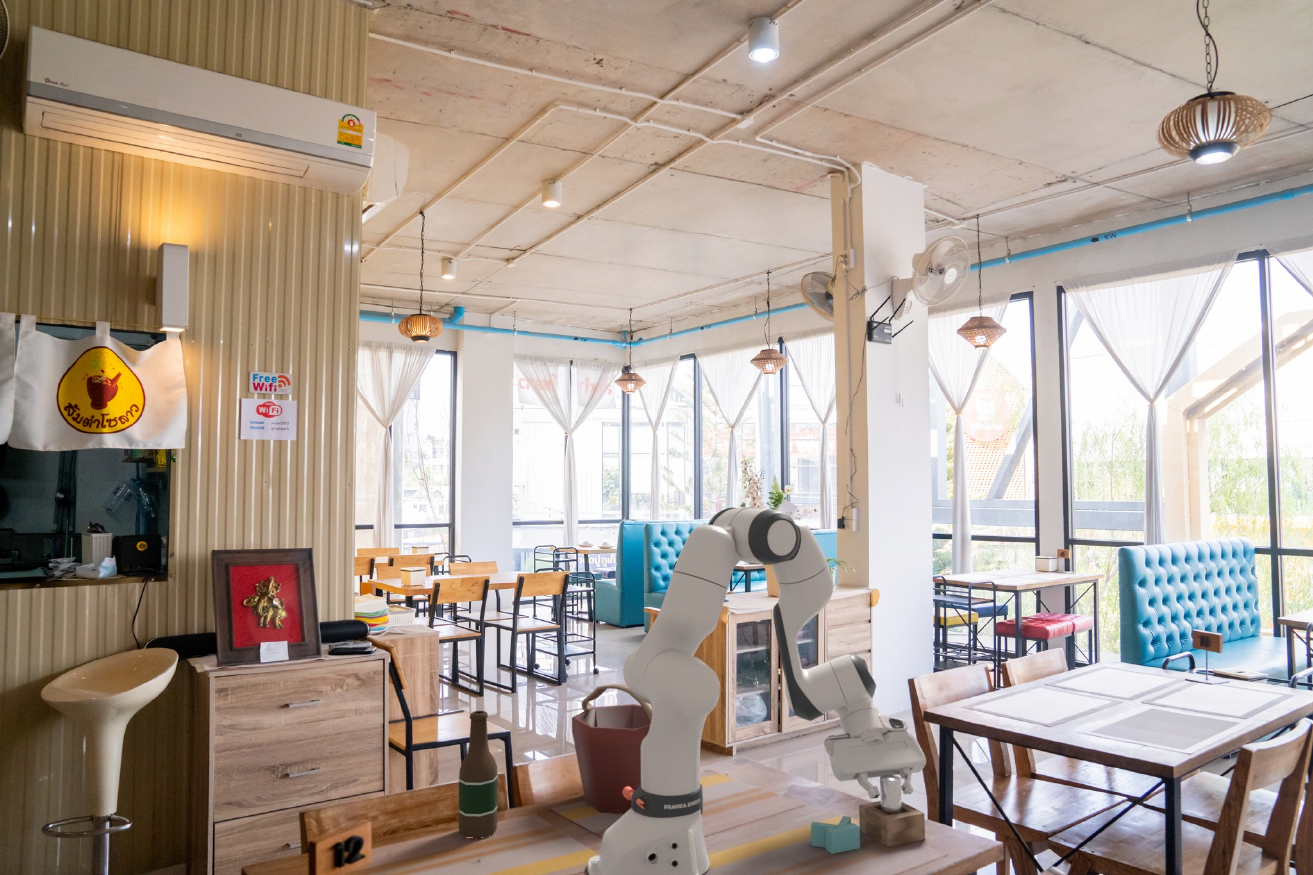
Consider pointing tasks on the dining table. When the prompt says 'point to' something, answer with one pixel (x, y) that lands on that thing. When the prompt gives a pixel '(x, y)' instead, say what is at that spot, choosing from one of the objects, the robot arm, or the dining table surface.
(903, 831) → the walnut block
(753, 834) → the dining table surface
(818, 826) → the teal V-block
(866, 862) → the dining table surface
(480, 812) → the beer bottle
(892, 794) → the steel axle
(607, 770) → the bucket
